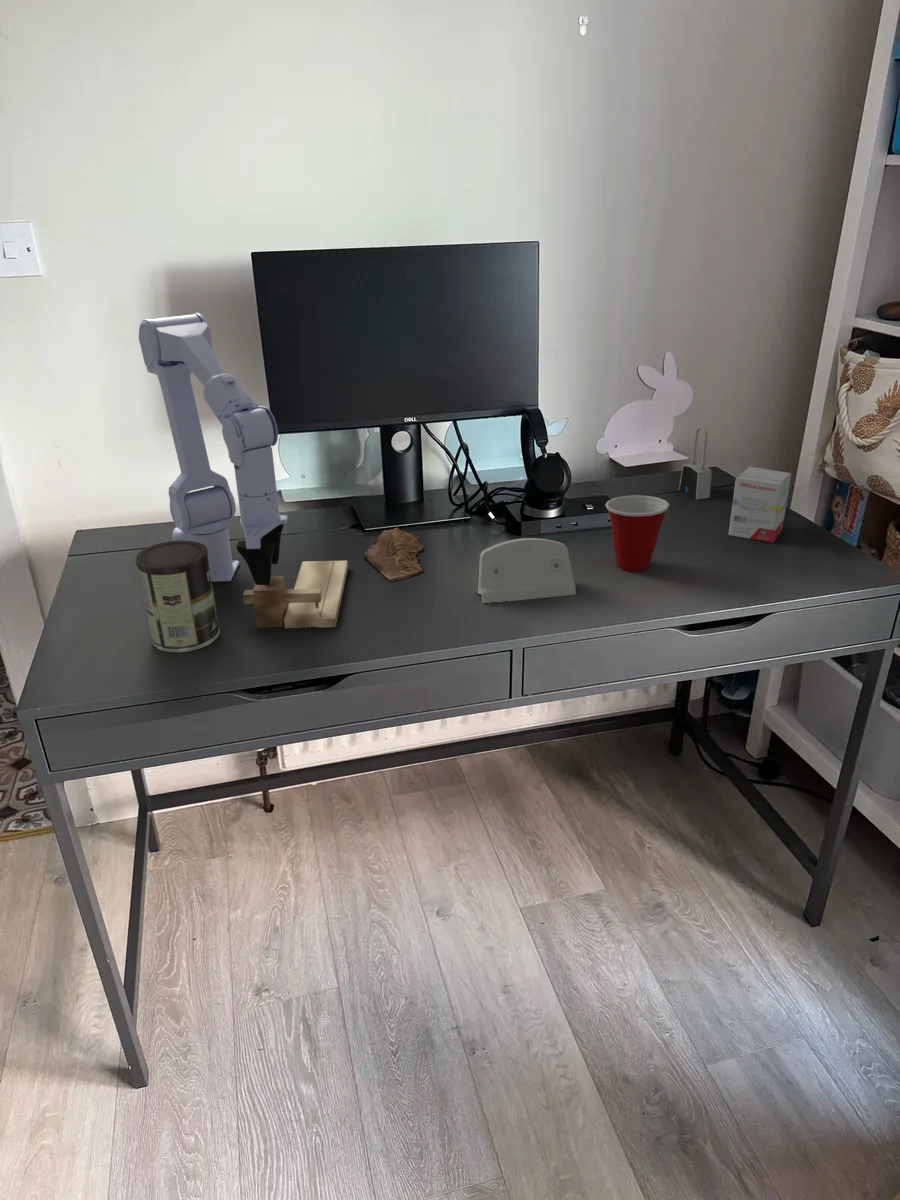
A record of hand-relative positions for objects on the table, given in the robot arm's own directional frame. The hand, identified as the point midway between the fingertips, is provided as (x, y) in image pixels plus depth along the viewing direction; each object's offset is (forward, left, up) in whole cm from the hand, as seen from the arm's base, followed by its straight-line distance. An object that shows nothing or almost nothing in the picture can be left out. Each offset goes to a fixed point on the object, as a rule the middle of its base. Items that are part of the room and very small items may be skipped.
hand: (267, 573), depth 135 cm
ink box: (+88, +32, -9) cm, 94 cm away
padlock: (+82, +54, -8) cm, 99 cm away
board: (+6, +8, -8) cm, 13 cm away
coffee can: (-13, -5, -8) cm, 16 cm away
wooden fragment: (+18, +26, -9) cm, 33 cm away
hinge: (+41, +9, -9) cm, 43 cm away
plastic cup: (+61, +18, -8) cm, 65 cm away
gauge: (+2, 0, -8) cm, 8 cm away
